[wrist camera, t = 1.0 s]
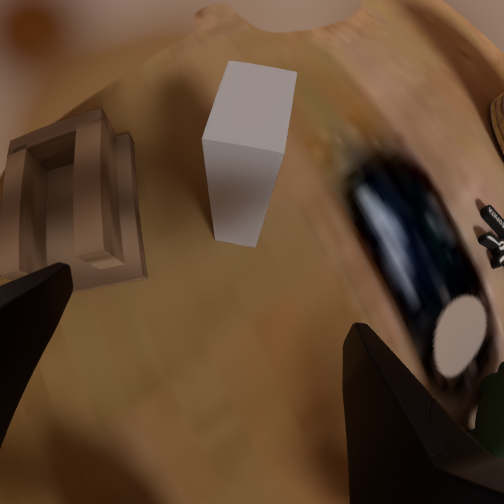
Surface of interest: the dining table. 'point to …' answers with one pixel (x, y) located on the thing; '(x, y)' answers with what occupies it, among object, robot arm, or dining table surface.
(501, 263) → the nameplate
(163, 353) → the dining table surface
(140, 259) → the clay rack
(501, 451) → the toy figurine
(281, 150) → the clay bar
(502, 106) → the tankard
